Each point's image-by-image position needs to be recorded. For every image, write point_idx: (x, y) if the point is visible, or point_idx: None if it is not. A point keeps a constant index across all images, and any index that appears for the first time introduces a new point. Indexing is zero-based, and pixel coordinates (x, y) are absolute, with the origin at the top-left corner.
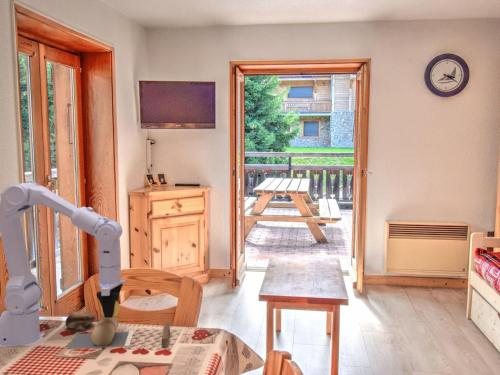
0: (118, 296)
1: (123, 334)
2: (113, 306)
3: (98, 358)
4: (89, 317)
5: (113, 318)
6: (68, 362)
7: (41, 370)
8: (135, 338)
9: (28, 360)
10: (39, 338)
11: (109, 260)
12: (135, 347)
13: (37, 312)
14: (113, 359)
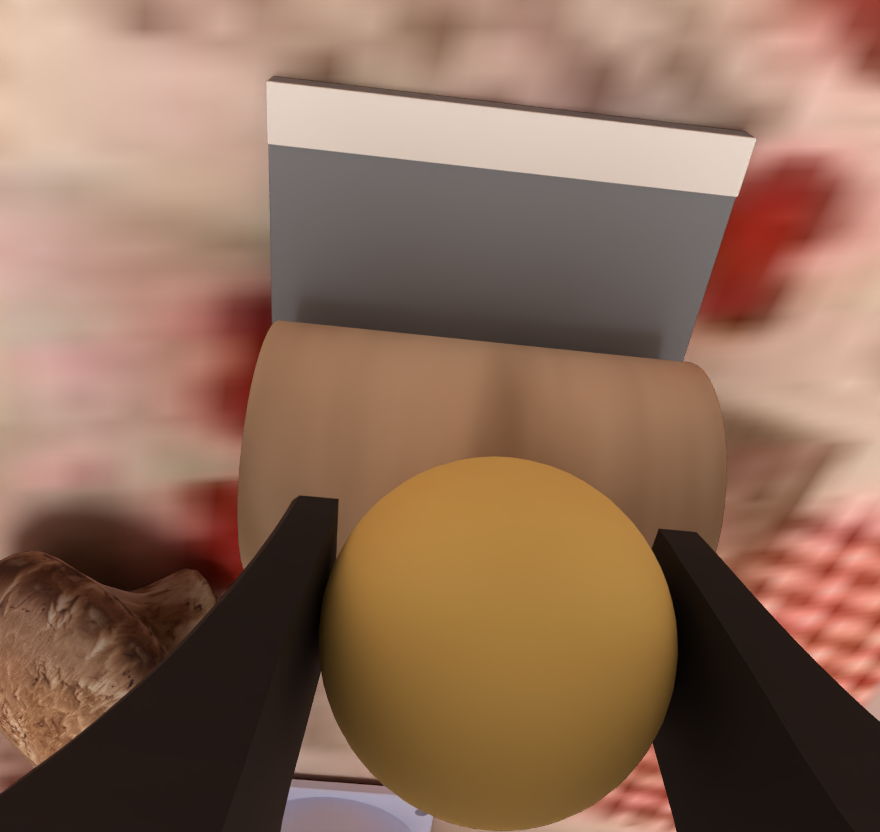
0: (227, 672)
1: (357, 217)
2: (845, 697)
3: (856, 424)
4: (117, 642)
5: (343, 444)
6: (808, 610)
7: None
8: (453, 45)
9: (650, 786)
10: (329, 795)
11: None
12: (761, 43)
13: None
14: None
